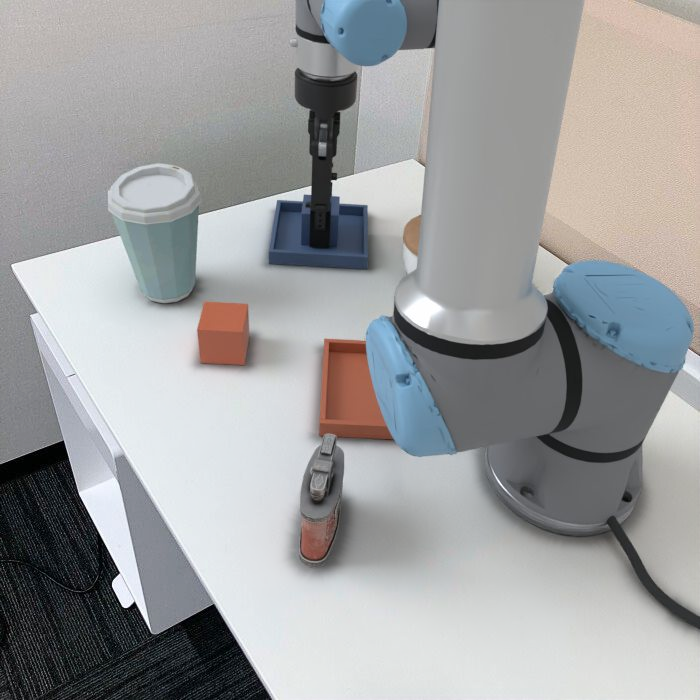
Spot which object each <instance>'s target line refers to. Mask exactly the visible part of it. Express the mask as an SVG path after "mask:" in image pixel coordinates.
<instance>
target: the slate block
mask: <svg viewBox="0 0 700 700" xmlns="http://www.w3.org/2000/svg"><path fill="white" fill-rule="evenodd" d="M340 198H341V197H340V196H337V195H336V196H335V195H332V196H330V202H331V219H330V240H329V246H333V247H337V239H338V223H339V203H340V202H341V200H340ZM302 201H303V205H302V214H301V245H309V242H310V208H306V202H310V201H311V194H303V197H302ZM340 204H341V203H340Z"/></svg>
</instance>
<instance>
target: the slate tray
mask: <svg viewBox="0 0 700 700" xmlns="http://www.w3.org/2000/svg"><path fill="white" fill-rule="evenodd" d="M302 205H303V200H288V199H286V200H285V199H277V200H276V205H275V211H274V217H273V223H272V229H271V235H270V239H269V240H270V241H269V247H268V265H284V266H306V267H319V268H320V267H321V268H340V269H342V268H343V269H357V270H358V269H359V270H368V263H369V216H368V215H369V213H368V212H369V211H368V210H369V208H368V206H369V205H368V204H356V203H355V204H354V203H339V223H338V239H337V247H333V246H329V248H320V247H309V245H301V214H302Z"/></svg>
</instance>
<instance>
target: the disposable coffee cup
mask: <svg viewBox="0 0 700 700" xmlns="http://www.w3.org/2000/svg"><path fill="white" fill-rule="evenodd" d="M201 203H202V197H201V193H200V189H199V187H198V182H196V181H194V178H193V174H192V173H191V172H189V171H187V170H186V169H184V168H182V167H180V166H178V165H175V164H174V165H173V164H169V163H168V164H167V163H161V162H158V163H151V164H146V165H139V166H137V167H135V168H133V169H131V170H129V171H127V172H125V173H122V174H121V175H120V176H119V177H118V178H117V179H116V180H115V181H114V182H113V184H112V185H111V186H110V188H109V189H108V191H107V207H108V208H107V209H108V212H110V213H111V216H112V218H113V221H114V223H115V226H116V228H117V232H118V234H119V236H120V239H121V241H122V244H123V246H124V250H125V252H126V254H127V257H128V260H129V263H130V265H131V268H132V270H133V273H134V276H135V278H136V281H137V283H138V286H139V289H140V291H141V292H142V293H143V294H144V296H145V298H148V299H149V300H150V301H151V302H154V303H155V302H156V303H159V304H169V303H178V302H179V301H181V300H183V299H185V298H187V297H189V296H190V294H191V293H192V292H193V290H194V286H195V285H196V271H197V269H196V268H197V251H198V249H197V248H198V235H199V234H198V232H199V231H198V229H199V212H200V211H199V210H200V204H201Z"/></svg>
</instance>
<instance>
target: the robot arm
mask: <svg viewBox="0 0 700 700" xmlns="http://www.w3.org/2000/svg"><path fill="white" fill-rule="evenodd" d="M585 1H586V0H295V37H291V38H290V40H289V45H290V47H292V48H295V51H294V52H295V54H294V55H295V56H294V57H295V58H294V59H295V60H294V62H295V66H296V69H295V71H294V99H295V101H296V103H297V104H299V105H300V106H301V107H302V108H305V109H308V110H309V111H308V120H307V132H308V135H309V144H308V145H309V147H308V148H309V150H308V153H309V155H310V156H311V159H312V160H311V188H310V189H311V190H310V195H311V201H310V202H306V208H310V242H309V247H320V248H329V240H330V219H331V202H330V196H333V181H338V172H333V168H334V162H333V158H335V157H336V156H337V152H338V137H339V136H340V132H341V131H340V130H341V112H343V111H346V110H349V109H350V108H351V107H353V106H354V105H355V103H356V100H357V89H358V73H357V70H359V67H360V66H361V67H376V66H379V65H380V64H382V63H384V62H386V61H387V60H388V59H390V58H392V57H393V56H395V55H396V53H397V52H398V51H409V50H410V51H413V50H424V49H434V55H433V66H432V67H433V68H432V69H433V70H432V79H431V91H430V103H429V115H428V127H427V138H426V139H427V140H426V149H425V162H424V163H425V164H424V175H423V187H422V199H421V209H420V210H421V212H420V215H421V221H420V233H419V245H418V257H417V269H415V270H414V271H412V272H411V273H409V274H408V275H407V274H406V275H405V276H403V278H402V279H401V280H400V281H398V284H397V285H396V288H395V291H394V299H393V301H394V302H393V313H392V316H387V315H380V316H379V317H378V318H375V319H372V320H371V322H369V324H368V326H367V328H366V331H365V341H366V351H367V359H368V365H369V370H370V375H371V379H372V383H373V387H374V391H375V395H376V398H377V401H378V404H379V407H380V410H381V413H382V415H383V418H384V420H385V423H386V425H387V427H388V429H389V431H390V433H391V435H392V437H393V439H392V440H394V442H395V443H396V445H397V446H398V447H399V448H400V449H401V450H402V451H403V452H405V453H406V454H409V455H410V456H412V457H418V458H423V457H425V458H426V457H433V456H443V455H450V456H453V455H457V453H462V452H467V451H471V450H476V449H480V448H481V449H482V448H485V447H486V449H485V454H484V468H485V472H486V476H487V479H488V481H489V483H490V486H491V488H492V489H493V491H494V492H495V494H496V495H497V496H498V498H499V500H501V501H502V503H503V504H504V505H505V506H507V508H508V509H510V510H511V511H512V512H513V513H514V514H516V515H517V516H519V517H520V518H521V519H523V520H525V521H526V522H528V523H529V524H532V525H534V526H536V527H538V528H541V529H543V530H546V531H549V532H551V533H556V534H559V535H564V536H565V535H566V536H575V537H578V536H579V537H585V536H586V537H587V536H593V535H599V534H604V533H606V532H608V531H611V532H612V534H613V536H614V537H615V539H616V541H617V542H618V543H619V545H620V547H621V548H622V550H623V551H624V553H625V555H626V558H628V560H629V562H630V564H631V566H632V568H633V570H634V572H635V574H636V576H637V578H638V579H639V581H640V582H641V584H642V586H643V587H644V588H645V590H647V592H648V593H649V594H650V595H651V596H652V597H653V598H654V599H655V600H656V601H657V602H658V603H660V604H661V605H662V606H663V607H664V608H666V609H667V610H668V611H669V612H671V613H672V614H674V615H676V616H677V617H679V618H680V619H681V620H684V622H686V623H688V624H690V625H691V626H693V627H695V628H697V629H699V630H700V616H699V615H698V614H696V613H695V612H692V611H691V610H689V609H688V608H686V607H685V606H684V605H682V604H680V603H678V602H677V601H675V600H674V599H673V598H671V597H670V596H669V595H668V594H667V593H665V591H664V590H663V589H662V588H661V587H659V586H658V585H657V584H656V582H655V581H654V579H653V578H652V577H651V576H650V573H648V570H647V569H646V567H645V564H644V563H643V561H642V559H641V557H640V555H639V553H638V552H637V549H636V548H635V547H634V545H633V543H632V541H631V540H630V538H629V537H628V535H627V533H626V531H624V529H623V527H622V525H621V524H622V523H624V522H625V521H626V519H628V517H629V516H630V515H631V513H632V511H633V510H634V508H635V506H636V504H637V502H638V500H639V498H640V495H641V493H642V488H643V444H644V441H645V439H646V437H647V436H648V433H649V432H650V429H651V428H652V426H653V424H654V422H655V420H656V418H657V416H658V414H659V411H660V410H661V408H662V406H663V404H664V402H665V400H666V398H667V397H668V394H669V392H670V390H671V389H672V386H673V384H674V383H675V381H676V379H677V377H678V375H679V372H680V371H682V369H683V368H684V365H685V364H686V356H687V353H688V351H689V349H690V346H691V344H692V341H693V337H694V332H695V328H694V320H693V317H692V315H691V313H690V311H689V308H688V307H687V305H686V304H685V303H684V301H682V300H681V298H680V297H679V296H678V295H677V294H676V293H675V292H674V291H673V290H672V289H670V288H669V287H668V286H667V285H665V284H664V283H662V282H661V281H660V280H658V279H656V278H654V277H653V276H651V275H649V274H647V273H645V272H642V271H640V270H638V269H635V268H633V267H630V266H627V265H625V264H621V263H617V262H613V261H607V260H599V259H598V260H597V259H588V260H586V259H585V260H580V261H576V262H573V263H570V264H569V265H567V266H566V267H564V268H563V269H562V270H561V273H559V275H558V276H557V277H556V278H555V279H554V281H553V283H552V288H553V289H552V291H551V292H550V293H548V294H544V293H543V292H542V291H541V290H540V289H539V288H538V287H537V286H536V285H535V283H534V282H533V279H534V273H535V269H536V262H537V258H538V253H539V246H540V243H541V242H540V241H541V236H542V231H543V225H544V221H545V220H544V219H545V216H546V215H545V214H546V211H547V210H546V209H547V203H548V198H549V193H550V188H551V183H552V178H553V172H554V166H555V161H556V155H557V150H558V145H559V139H560V136H561V135H560V134H561V129H562V123H563V118H564V112H565V108H566V103H567V98H568V92H569V86H570V81H571V75H572V69H573V65H574V60H575V55H576V49H577V43H578V38H579V32H580V27H581V22H582V17H583V13H584V12H583V11H584V6H585V5H584V4H585Z"/></svg>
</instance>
